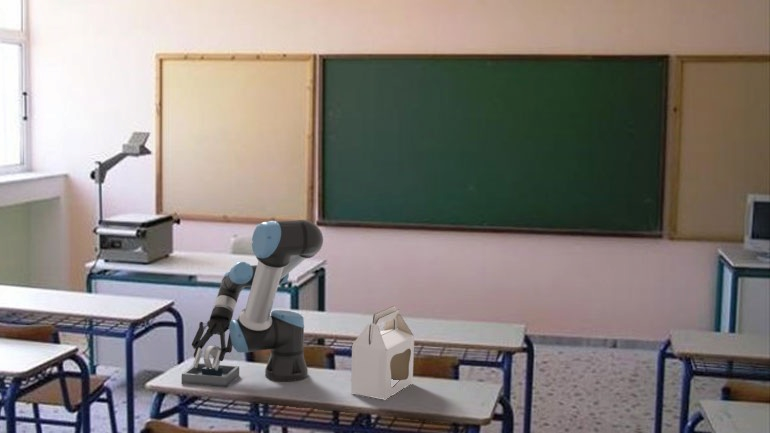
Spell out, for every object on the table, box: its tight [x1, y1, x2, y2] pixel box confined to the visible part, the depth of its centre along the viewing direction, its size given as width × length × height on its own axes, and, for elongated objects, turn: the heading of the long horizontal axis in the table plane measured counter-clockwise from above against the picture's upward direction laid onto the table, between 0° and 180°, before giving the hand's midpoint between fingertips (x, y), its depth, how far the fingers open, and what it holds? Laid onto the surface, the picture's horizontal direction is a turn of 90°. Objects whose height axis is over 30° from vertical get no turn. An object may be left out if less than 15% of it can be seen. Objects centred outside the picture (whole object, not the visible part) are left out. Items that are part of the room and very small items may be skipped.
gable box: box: [350, 305, 415, 399], centre depth 323 cm, size 22×13×28 cm, turn 154°
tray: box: [181, 362, 240, 388], centre depth 329 cm, size 16×14×4 cm
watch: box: [202, 344, 222, 376], centre depth 329 cm, size 6×8×11 cm
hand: (205, 367), depth 325 cm, fingers open, 7 cm apart
